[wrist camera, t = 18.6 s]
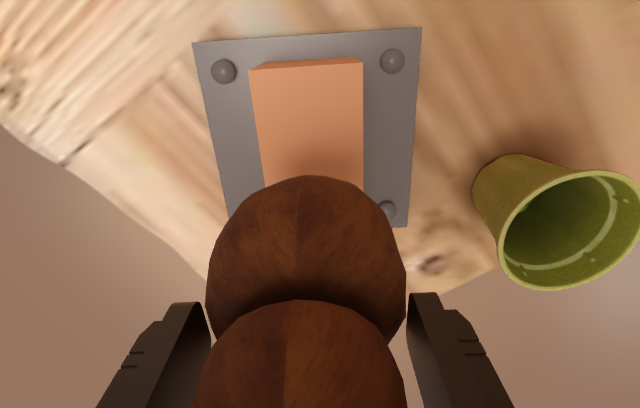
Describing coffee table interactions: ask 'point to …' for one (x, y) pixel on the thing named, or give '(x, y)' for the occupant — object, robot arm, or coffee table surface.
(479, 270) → the coffee table surface
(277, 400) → the wooden figurine
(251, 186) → the baseplate
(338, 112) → the brick
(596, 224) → the plant pot
